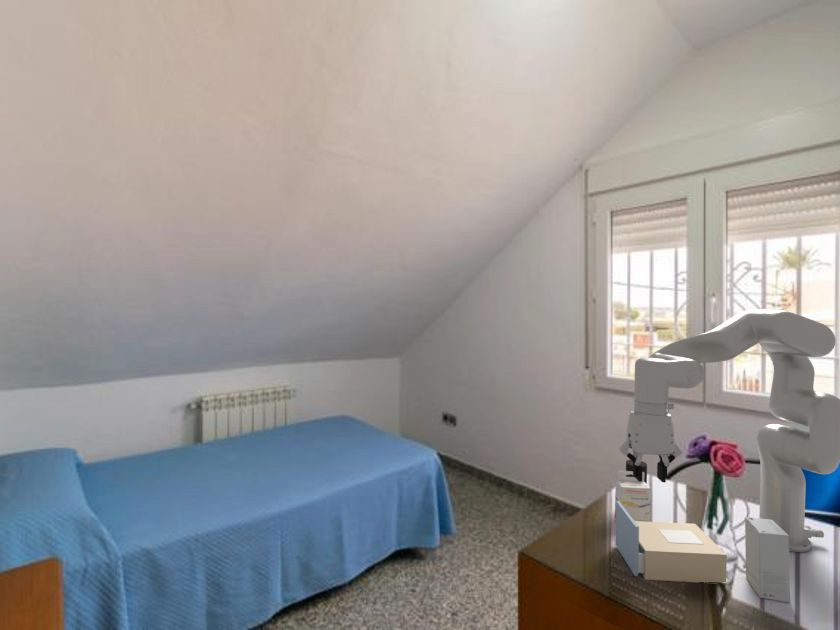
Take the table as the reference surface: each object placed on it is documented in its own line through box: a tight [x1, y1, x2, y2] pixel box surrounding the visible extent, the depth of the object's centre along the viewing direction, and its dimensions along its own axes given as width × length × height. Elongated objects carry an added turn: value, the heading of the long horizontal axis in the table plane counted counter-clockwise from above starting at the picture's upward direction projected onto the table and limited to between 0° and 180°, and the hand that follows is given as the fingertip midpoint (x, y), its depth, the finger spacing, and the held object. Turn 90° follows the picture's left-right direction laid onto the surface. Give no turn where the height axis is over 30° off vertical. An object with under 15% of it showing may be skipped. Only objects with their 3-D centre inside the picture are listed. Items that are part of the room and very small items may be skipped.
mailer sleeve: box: [635, 521, 728, 584], centre depth 110 cm, size 18×14×7 cm
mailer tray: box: [615, 501, 645, 577], centre depth 110 cm, size 18×13×12 cm
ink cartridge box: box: [614, 470, 652, 522], centre depth 129 cm, size 9×5×15 cm, turn 84°
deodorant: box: [625, 459, 648, 485], centre depth 137 cm, size 6×6×15 cm
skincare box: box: [744, 516, 791, 604], centre depth 100 cm, size 8×6×15 cm
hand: (649, 479), depth 109 cm, fingers open, 4 cm apart
